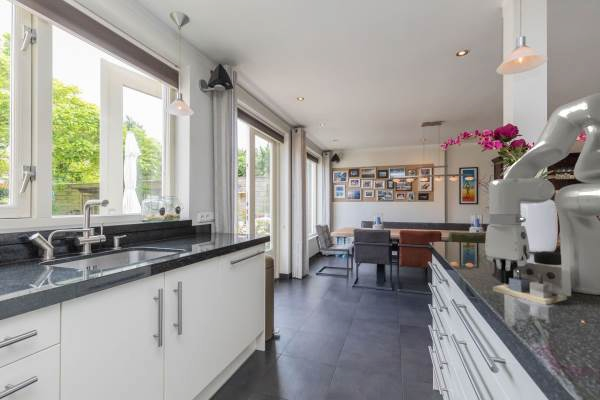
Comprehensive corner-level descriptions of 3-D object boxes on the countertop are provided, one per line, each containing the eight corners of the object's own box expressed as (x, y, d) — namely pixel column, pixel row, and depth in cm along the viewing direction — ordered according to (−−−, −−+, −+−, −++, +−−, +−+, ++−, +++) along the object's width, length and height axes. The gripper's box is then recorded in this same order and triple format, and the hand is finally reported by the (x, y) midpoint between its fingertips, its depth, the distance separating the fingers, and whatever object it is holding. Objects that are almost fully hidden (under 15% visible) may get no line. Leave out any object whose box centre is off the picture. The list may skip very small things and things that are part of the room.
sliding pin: (517, 287, 81) (517, 268, 81) (529, 290, 78) (529, 270, 78) (509, 289, 79) (508, 269, 80) (521, 292, 77) (520, 271, 77)
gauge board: (513, 286, 86) (513, 259, 87) (567, 299, 74) (566, 267, 75) (492, 290, 82) (492, 262, 83) (545, 304, 71) (544, 271, 71)
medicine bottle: (572, 297, 77) (570, 254, 78) (542, 296, 79) (540, 253, 79) (554, 290, 84) (552, 250, 85) (527, 288, 86) (526, 249, 86)
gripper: (542, 221, 77) (544, 288, 77) (488, 219, 91) (489, 276, 90) (525, 222, 74) (527, 291, 74) (472, 220, 88) (473, 278, 88)
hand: (506, 282), depth 82 cm, fingers closed
